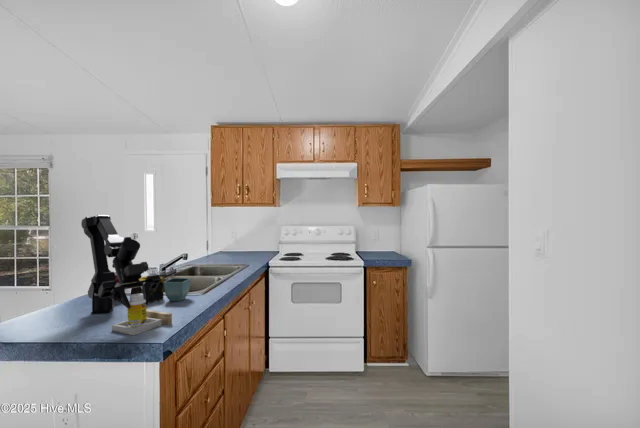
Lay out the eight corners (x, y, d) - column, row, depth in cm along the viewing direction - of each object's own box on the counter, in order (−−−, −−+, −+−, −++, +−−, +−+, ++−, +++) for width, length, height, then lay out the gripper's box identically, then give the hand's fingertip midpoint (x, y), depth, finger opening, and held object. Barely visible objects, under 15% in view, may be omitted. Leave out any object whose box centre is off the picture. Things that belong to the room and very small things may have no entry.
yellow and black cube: (130, 300, 150) (129, 278, 150) (152, 296, 159) (152, 275, 159) (141, 304, 144) (141, 281, 144) (164, 299, 153) (164, 277, 153)
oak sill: (140, 319, 123) (140, 310, 123) (143, 318, 124) (143, 309, 124) (168, 324, 117) (168, 314, 117) (171, 323, 118) (171, 313, 118)
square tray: (111, 331, 111) (111, 325, 111) (140, 321, 121) (140, 316, 121) (133, 335, 107) (133, 329, 107) (161, 325, 116) (161, 319, 116)
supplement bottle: (144, 326, 112) (143, 296, 112) (125, 328, 110) (125, 297, 110) (148, 321, 117) (147, 292, 117) (130, 322, 116) (129, 293, 116)
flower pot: (183, 302, 146) (182, 282, 146) (163, 302, 147) (162, 282, 147) (191, 297, 155) (191, 278, 155) (172, 297, 155) (172, 278, 155)
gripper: (101, 257, 109) (114, 297, 102) (158, 252, 123) (173, 286, 116) (92, 278, 114) (104, 317, 107) (149, 271, 128) (163, 305, 121)
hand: (138, 305), depth 113 cm, fingers closed on supplement bottle, 5 cm apart
